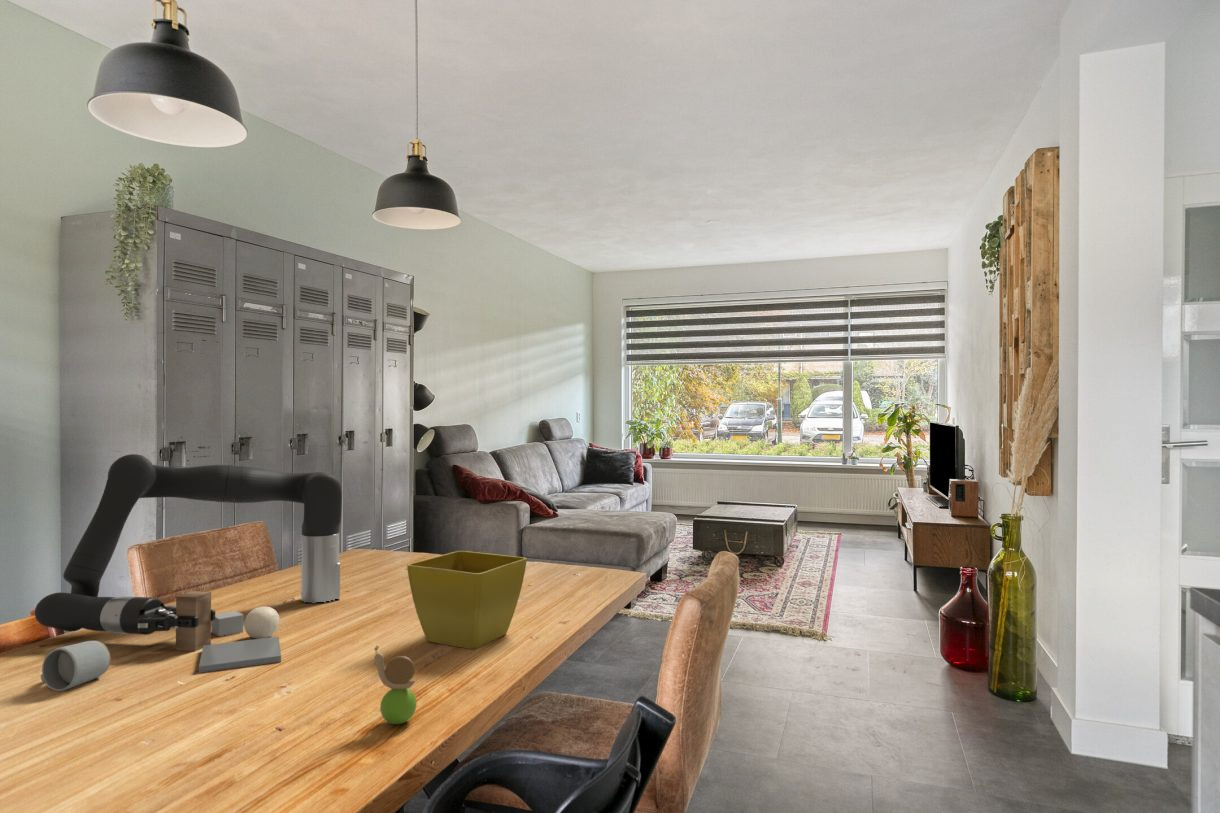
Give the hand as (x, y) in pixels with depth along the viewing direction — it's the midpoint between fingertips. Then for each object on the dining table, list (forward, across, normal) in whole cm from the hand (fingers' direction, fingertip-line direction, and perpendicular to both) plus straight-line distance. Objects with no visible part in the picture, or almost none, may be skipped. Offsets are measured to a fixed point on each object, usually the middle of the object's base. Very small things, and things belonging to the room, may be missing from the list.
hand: (205, 618), depth 150 cm
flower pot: (+52, +15, +6) cm, 54 cm away
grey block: (-3, +11, +6) cm, 13 cm away
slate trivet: (+11, -4, +6) cm, 13 cm away
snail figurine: (+55, -29, +6) cm, 63 cm away
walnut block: (-3, 0, +6) cm, 7 cm away
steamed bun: (+7, +8, +6) cm, 13 cm away
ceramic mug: (-10, -22, +6) cm, 25 cm away
